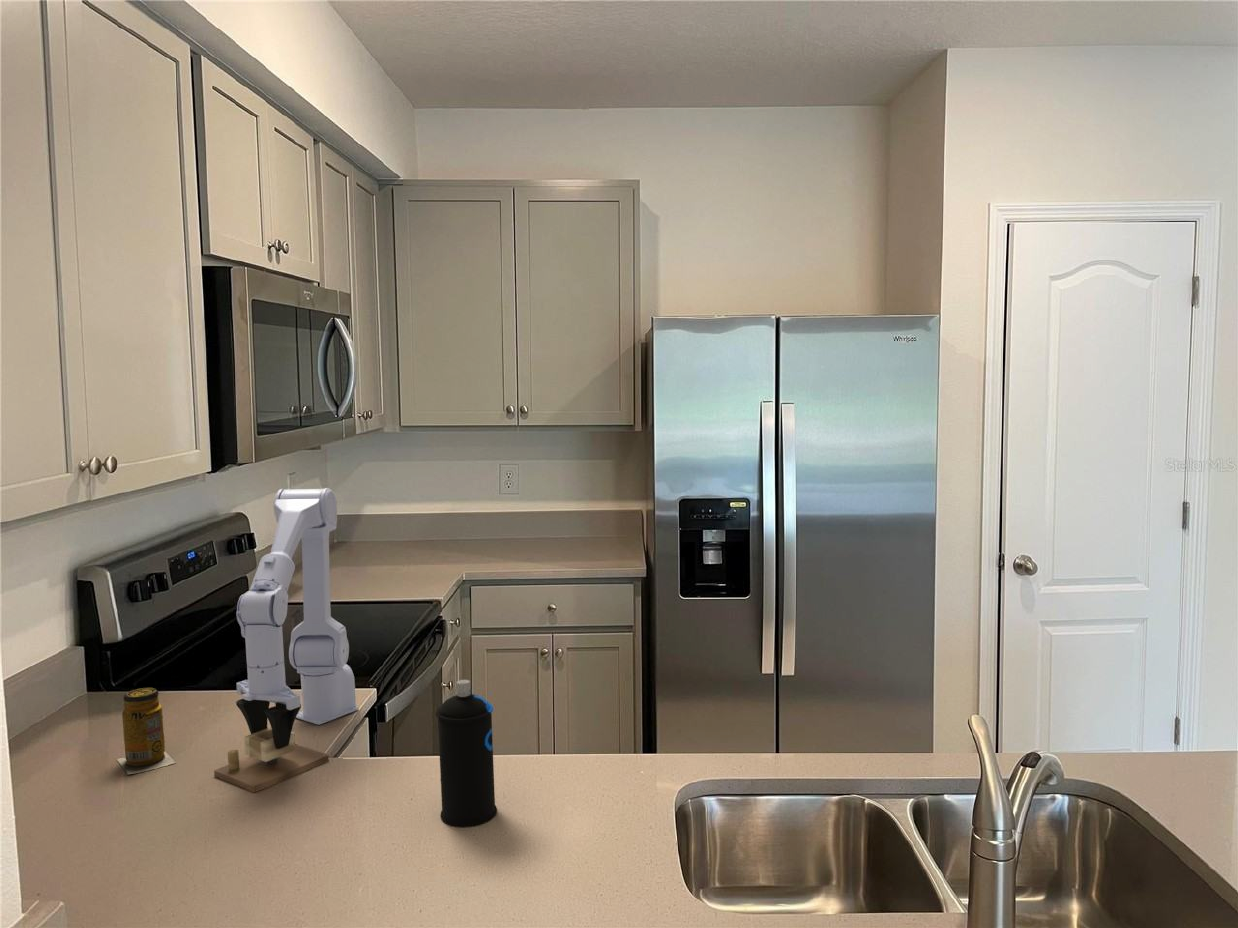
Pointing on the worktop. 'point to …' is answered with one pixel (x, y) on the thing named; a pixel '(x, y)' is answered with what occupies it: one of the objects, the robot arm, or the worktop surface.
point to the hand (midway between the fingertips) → (270, 742)
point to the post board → (268, 768)
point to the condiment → (143, 732)
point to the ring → (266, 745)
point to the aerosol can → (466, 758)
